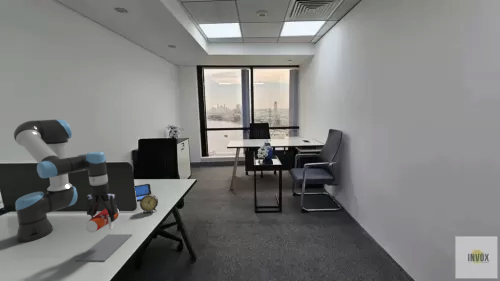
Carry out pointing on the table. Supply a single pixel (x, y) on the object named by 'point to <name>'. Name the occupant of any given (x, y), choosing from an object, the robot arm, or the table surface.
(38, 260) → the table surface
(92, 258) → the mat
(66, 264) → the table surface
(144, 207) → the alarm clock
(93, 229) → the coffee cup
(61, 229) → the table surface
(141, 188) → the handheld game console
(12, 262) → the table surface
